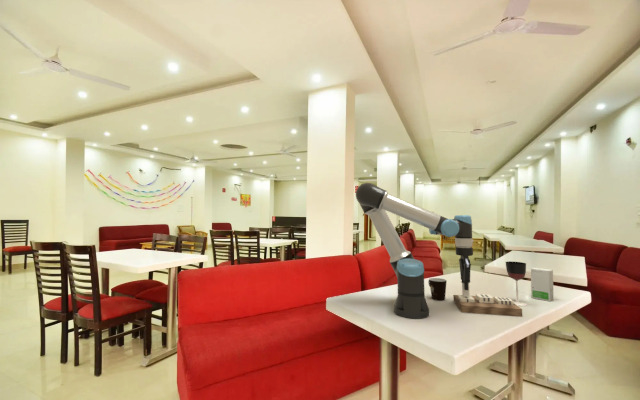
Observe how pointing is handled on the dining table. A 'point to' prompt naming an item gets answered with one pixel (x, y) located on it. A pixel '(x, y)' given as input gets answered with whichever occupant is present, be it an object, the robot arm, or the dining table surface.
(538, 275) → the skincare box
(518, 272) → the wineglass
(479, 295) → the tile two
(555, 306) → the dining table surface
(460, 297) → the tile one
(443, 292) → the coffee mug
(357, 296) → the dining table surface
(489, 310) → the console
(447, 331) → the dining table surface
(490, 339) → the dining table surface
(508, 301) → the tile three
